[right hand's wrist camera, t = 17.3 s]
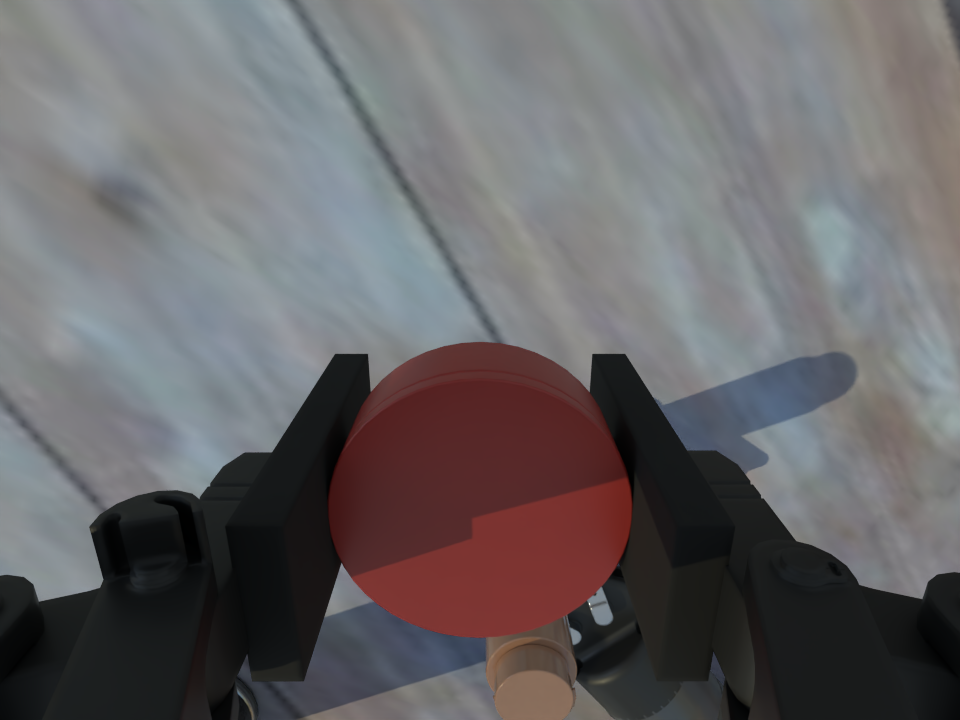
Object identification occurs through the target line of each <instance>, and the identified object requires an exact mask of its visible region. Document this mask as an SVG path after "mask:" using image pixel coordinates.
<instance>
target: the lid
mask: <svg viewBox="0 0 960 720" xmlns="http://www.w3.org/2000/svg"><path fill="white" fill-rule="evenodd" d="M327 503H328V516H329V525H330V534H331V538H332V541H333V544H334V547H335V550H336V552H337V554H338V556H339V558H340V560H341V562H342V564H343V566H344V568H345V569H346V571H347V572H348V574H349V575H350V576H351V578H352V579H353V581H354V582H355V583H356V584H357V585H358V586H359V587H360V588H361V590H362V591H363V592H364V593H365V594H366V595H367V596H369V597H370V598H371V599H372V600H373V601H374V602H376V603H377V604H378V605H379V606H381V607H382V608H384V609H385V610H387V611H388V612H390V613H391V614H393V615H395V616H397V617H399V618H401V619H402V620H404V621H406V622H408V623H411V624H413V625H416V626H419V627H421V628H424V629H427V630H431V631H434V632H438V633H442V634H447V635H454V636H460V637H476V638H484V637H500V636H507V635H514V634H518V633H522V632H526V631H530V630H534V629H536V628H539V627H542V626H544V625H547V624H550V623H552V622H554V621H556V620H558V619H560V618H562V617H564V616H566V615H567V614H569V613H570V612H572V611H573V610H575V609H577V608H578V607H580V606H581V605H582V604H583V603H585V602H586V601H587V600H588V599H589V598H591V597H592V596H593V595H594V594H595V593H596V592H597V591H598V590H599V589H600V588H601V587H602V586H603V585H604V583H605V582H606V581H607V580H608V578H609V577H610V575H611V574H612V573H613V571H614V570H615V568H616V567H617V565H618V563H619V561H620V559H621V557H622V555H623V553H624V550H625V548H626V545H627V542H628V539H629V536H630V529H631V520H632V510H633V497H632V489H631V484H630V480H629V477H628V473H627V470H626V467H625V465H624V462H623V460H622V458H621V455H620V453H619V451H618V448H617V446H616V444H615V441H614V439H613V437H612V434H611V432H610V430H609V427H608V425H607V423H606V420H605V418H604V416H603V414H602V412H601V410H600V407H599V406H598V404H597V403H596V401H595V400H594V398H593V397H592V395H591V394H590V393H589V391H588V390H587V389H586V388H585V387H584V386H583V385H582V383H581V382H580V381H579V380H578V379H576V378H575V377H574V376H573V375H572V374H571V373H569V372H568V371H567V370H566V369H564V368H563V367H561V366H560V365H558V364H557V363H555V362H554V361H552V360H550V359H548V358H546V357H544V356H542V355H540V354H537V353H535V352H532V351H529V350H526V349H523V348H520V347H516V346H511V345H506V344H501V343H489V342H472V343H460V344H454V345H449V346H444V347H440V348H437V349H434V350H431V351H428V352H425V353H423V354H421V355H419V356H417V357H414V358H412V359H410V360H409V361H407V362H405V363H404V364H402V365H401V366H399V367H397V368H396V369H395V370H393V371H392V372H391V373H390V374H389V375H387V376H386V377H385V378H384V379H383V380H382V381H381V382H380V383H379V384H378V385H377V386H376V387H375V388H374V389H373V391H372V392H371V393H370V394H369V396H368V397H367V399H366V400H365V402H364V403H363V405H362V406H361V408H360V410H359V413H358V415H357V417H356V419H355V421H354V423H353V426H352V428H351V430H350V433H349V435H348V437H347V440H346V442H345V444H344V447H343V449H342V451H341V454H340V456H339V458H338V461H337V463H336V465H335V468H334V471H333V474H332V478H331V481H330V485H329V492H328V499H327Z"/></svg>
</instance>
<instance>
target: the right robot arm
mask: <svg viewBox="0 0 960 720" xmlns="http://www.w3.org/2000/svg"><path fill="white" fill-rule="evenodd" d="M370 393H371V391H370V377H369V363H368V354H335V355H334V357H333V358H332V360H331V361H330V363H329V365H328V366H327V368H326V369H325V371H324V372H323V374H322V375H321V377H320V379H319V380H318V382H317V383H316V385H315V386H314V388H313V390H312V391H311V393H310V394H309V396H308V397H307V399H306V400H305V402H304V404H303V405H302V407H301V408H300V410H299V411H298V413H297V415H296V416H295V418H294V419H293V421H292V422H291V424H290V425H289V427H288V429H287V430H286V432H285V433H284V435H283V436H282V438H281V439H280V441H279V443H278V444H277V446H276V447H275V449H274V450H273V452H272V453H243V454H242V455H240V456H239V457H237V458H236V459H234V460H233V461H231V462H230V463H228V464H226V465H225V466H223V467H222V469H221V470H220V471H219V473H218V474H217V475H216V477H215V478H214V479H213V481H212V482H211V483H210V487H207V489H206V490H205V491H204V492H203V494H202V495H201V496H200V499H198V498H197V497H196V496H195V495H193V494H191V493H187V492H182V491H178V490H174V491H156V492H152V493H147V494H143V495H138V496H135V497H133V498H130V499H128V500H125V501H123V502H120V503H118V504H116V505H114V506H113V507H111V508H110V509H108V510H106V511H105V512H103V513H102V514H100V515H99V516H98V517H97V519H96V520H95V521H94V522H93V523H92V524H91V525H90V527H89V528H90V531H91V535H92V539H93V542H94V546H95V550H96V553H97V557H98V561H99V565H100V568H101V572H102V576H103V579H104V580H103V582H102V585H101V587H100V588H98V589H95V590H91V591H87V592H83V593H78V594H73V595H69V596H64V597H59V598H55V599H50V600H45V601H40V602H39V601H38V598H37V595H36V592H35V588H34V585H33V584H32V583H31V582H29V581H28V580H27V579H26V578H24V577H19V576H12V575H2V576H0V720H238V713H239V699H238V692H237V687H236V682H235V680H236V677H237V675H238V673H239V671H240V668H241V666H242V664H243V662H244V659H245V657H246V655H247V654H248V660H249V666H250V671H251V677H252V681H304V679H305V676H306V672H307V669H308V666H309V663H310V660H311V657H312V654H313V650H314V647H315V644H316V641H317V638H318V635H319V632H320V628H321V625H322V622H323V619H324V616H325V613H326V610H327V607H328V603H329V600H330V597H331V594H332V591H333V588H334V585H335V581H336V578H337V575H338V572H339V569H340V566H341V563H342V562H341V560H340V558H339V556H338V554H337V552H336V550H335V547H334V544H333V541H332V538H331V534H330V525H329V516H328V503H327V499H328V492H329V485H330V481H331V478H332V474H333V471H334V468H335V465H336V463H337V461H338V458H339V456H340V454H341V451H342V449H343V447H344V444H345V442H346V440H347V437H348V435H349V433H350V430H351V428H352V426H353V423H354V421H355V419H356V417H357V415H358V413H359V410H360V408H361V406H362V405H363V403H364V402H365V400H366V399H367V397H368V396H369V394H370ZM590 394H591V395H592V397H593V398H594V400H595V401H596V403H597V404H598V406H599V407H600V410H601V412H602V414H603V416H604V418H605V420H606V423H607V425H608V427H609V430H610V432H611V434H612V437H613V439H614V441H615V444H616V446H617V448H618V451H619V453H620V455H621V458H622V460H623V462H624V465H625V467H626V470H627V473H628V477H629V480H630V484H631V489H632V497H633V510H632V520H631V529H630V536H629V539H628V542H627V545H626V548H625V550H624V553H623V555H622V557H621V559H620V561H619V565H620V568H621V571H622V574H623V577H624V580H625V583H626V586H627V590H628V593H629V596H630V599H631V602H632V605H633V608H634V612H635V615H636V618H637V621H638V624H639V627H640V630H641V634H642V637H643V640H644V643H645V646H646V649H647V652H648V656H649V659H650V662H651V665H652V668H653V671H654V674H655V677H656V681H708V679H709V673H710V668H711V662H712V656H713V651H714V653H715V655H716V658H717V660H718V662H719V664H720V667H721V669H722V671H723V673H724V676H725V682H724V687H723V692H722V698H721V703H720V708H719V713H718V719H717V720H960V573H956V572H953V573H945V574H938V575H936V576H935V577H934V578H932V579H931V580H930V581H929V582H928V584H927V587H926V590H925V593H924V596H923V599H918V598H914V597H909V596H904V595H899V594H895V593H890V592H885V591H881V590H876V589H872V588H868V587H865V586H861V585H859V584H858V581H857V579H856V578H855V576H854V575H853V574H852V572H851V571H850V570H849V568H848V567H847V566H846V565H845V564H843V563H842V562H841V561H839V560H838V559H837V558H835V557H834V556H833V555H831V554H829V553H827V552H825V551H823V550H821V549H819V548H816V547H814V546H812V545H809V544H805V543H801V542H797V541H796V540H795V539H794V538H793V536H792V535H791V534H790V532H789V531H788V530H787V529H786V527H785V526H784V525H783V523H782V522H781V521H780V519H779V518H778V517H777V515H776V514H775V513H774V512H773V510H772V509H771V508H770V506H769V505H768V504H767V502H766V501H765V500H764V499H761V495H760V493H759V492H758V491H757V489H756V488H755V487H754V485H751V484H750V480H749V479H748V478H747V476H746V475H745V474H744V472H743V471H742V470H741V468H740V467H739V466H738V465H737V464H736V463H734V462H733V461H731V460H730V459H728V458H727V457H725V456H723V455H722V454H720V453H719V452H717V451H687V450H686V448H685V447H684V445H683V444H682V442H681V440H680V439H679V437H678V436H677V434H676V433H675V431H674V429H673V428H672V426H671V425H670V423H669V422H668V420H667V419H666V417H665V415H664V414H663V412H662V411H661V409H660V408H659V406H658V404H657V403H656V401H655V400H654V398H653V397H652V395H651V394H650V392H649V390H648V389H647V387H646V386H645V384H644V383H643V381H642V380H641V378H640V376H639V375H638V373H637V372H636V370H635V369H634V367H633V365H632V364H631V362H630V361H629V359H628V358H627V356H626V355H625V354H592V368H591V383H590Z"/></svg>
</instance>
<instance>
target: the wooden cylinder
mask: <svg viewBox="0 0 960 720" xmlns="http://www.w3.org/2000/svg"><path fill="white" fill-rule="evenodd" d="M576 676H577V664H576V659H575V653H574V648H573V642H572V637H571V631H570V626H569V620H568V615H566V616H564V617H562V618H560V619H558V620H556V621H554V622H552V623H550V624H547V625H544V626H542V627H539V628H536V629H534V630H530V631H526V632H522V633H518V634H514V635H507V636H500V637H486V677H487V681H488V683H489V686H490V687H491V689H492V690H493V691H494V696H493V699H494V700H495V706H496V709H497V711H498V713H499V714H500V716H501V717H502V718H503V719H504V720H563V719H564V718H565V717H566V716H567V715H568V714H569V713H570V711H571V709H572V707H574V704H575V699H576V693H575V688H572V686H573V684H574V682H575V679H576Z"/></svg>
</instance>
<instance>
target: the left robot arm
mask: <svg viewBox="0 0 960 720" xmlns="http://www.w3.org/2000/svg"><path fill="white" fill-rule="evenodd" d="M567 615H568V620H569V626H570V631H571V637H572V642H573V648H574V653H575V659H576V664H577V676H576V680H577V681H578V682H579V683H580V684H581V685H582V686H583V687H584V688H585V689H586V690H587V691H588V692H589V693H590V694H591V695H592V696H593V697H594V698H595V699H596V700H597V701H598V702H599V703H600V704H601V705H602V706H603V707H604V708H605V709H606V711H607V712H608V714H609V715H610V716H611V717H613V718H614V719H616V720H717V719H718V713H719V708H720V703H721V698H722V692H723V687H724V686H723V685H722V684H721V683H720V682H719V681H718V679H717V678H716V677H715V676H714V675H713V673H712V672H711V671H710V673H709V679H708V681H656V677H655V674H654V671H653V668H652V665H651V662H650V659H649V656H648V652H647V649H646V646H645V643H644V640H643V637H642V634H641V630H640V627H639V624H638V621H637V618H636V615H635V612H634V608H633V605H632V602H631V599H630V596H629V593H628V590H627V586H626V583H625V580H624V577H623V574H622V571H621V568H620V567H619V566H617V567H616V568H615V570H614V571H613V573H612V574H611V575H610V577H609V578H608V580H607V581H606V582H605V583H604V585H603V586H602V587H601V588H600V589H599V590H598V591H597V592H596V593H595V594H594V595H593V596H592V597H591V598H589V599H588V600H587V601H586V602H585V603H583V604H582V605H581V606H580V607H578V608H577V609H575V610H573V611H572V612H570V613H569V614H567ZM235 682H236V687H237V692H238V699H239V713H238V720H257V715H258V710H257V704H256V701H255V699H254V696H253V695H252V693H251V692H250V690H249V689H248V688H247V687H246V686H245V685H244V684H243V683H242V682H241V681H240V680H238V679H237V678H236V680H235Z"/></svg>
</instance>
